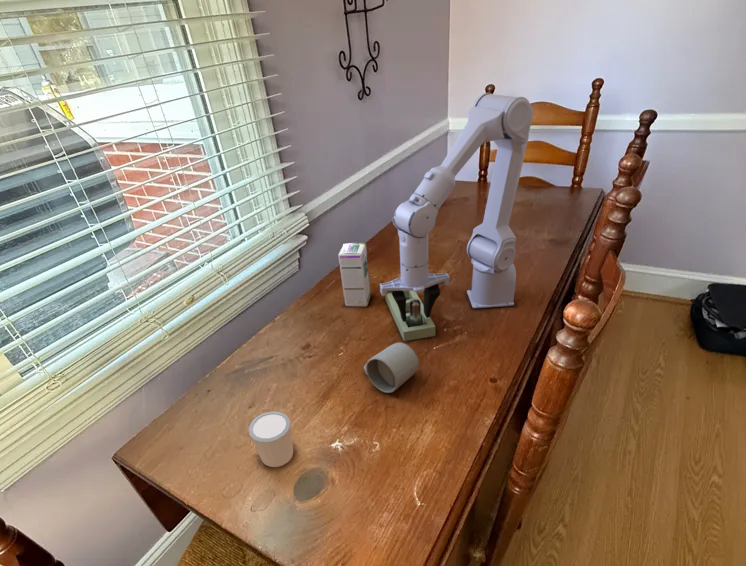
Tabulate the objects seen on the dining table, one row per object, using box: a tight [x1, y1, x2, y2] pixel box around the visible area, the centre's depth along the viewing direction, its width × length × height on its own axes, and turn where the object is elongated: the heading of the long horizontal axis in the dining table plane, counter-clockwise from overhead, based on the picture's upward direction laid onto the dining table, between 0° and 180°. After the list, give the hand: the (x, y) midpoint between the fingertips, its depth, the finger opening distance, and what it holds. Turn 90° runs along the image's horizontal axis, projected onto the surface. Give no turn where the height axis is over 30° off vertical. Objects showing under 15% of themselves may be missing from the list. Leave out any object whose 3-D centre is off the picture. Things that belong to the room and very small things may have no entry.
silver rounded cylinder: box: [407, 299, 423, 328], centre depth 105 cm, size 4×4×8 cm
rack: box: [384, 291, 437, 342], centre depth 111 cm, size 7×18×2 cm, turn 8°
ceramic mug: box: [363, 341, 420, 394], centre depth 92 cm, size 11×8×8 cm
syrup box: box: [337, 242, 372, 307], centre depth 115 cm, size 6×6×14 cm
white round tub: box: [248, 411, 294, 468], centre depth 79 cm, size 7×7×7 cm
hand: (415, 317), depth 105 cm, fingers open, 5 cm apart
